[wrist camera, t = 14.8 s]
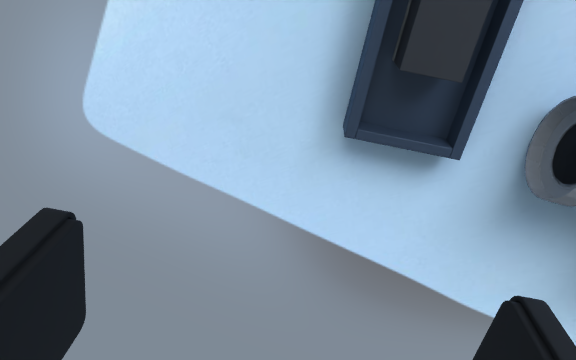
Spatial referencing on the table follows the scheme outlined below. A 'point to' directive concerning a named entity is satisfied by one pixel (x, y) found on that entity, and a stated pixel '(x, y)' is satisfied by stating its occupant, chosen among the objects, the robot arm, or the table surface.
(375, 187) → the table surface
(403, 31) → the eraser
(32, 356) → the robot arm
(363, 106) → the tray
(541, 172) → the digital camera
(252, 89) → the table surface
